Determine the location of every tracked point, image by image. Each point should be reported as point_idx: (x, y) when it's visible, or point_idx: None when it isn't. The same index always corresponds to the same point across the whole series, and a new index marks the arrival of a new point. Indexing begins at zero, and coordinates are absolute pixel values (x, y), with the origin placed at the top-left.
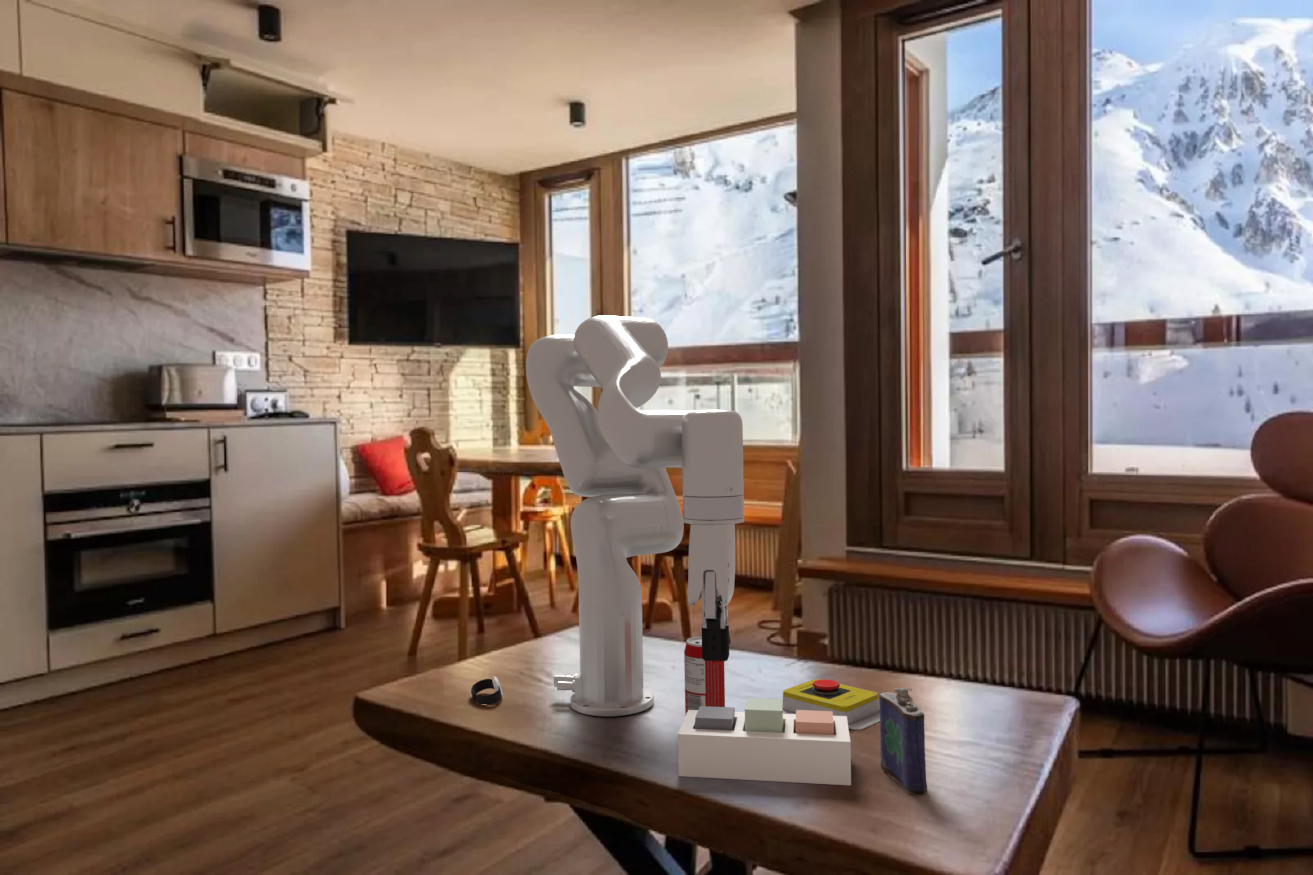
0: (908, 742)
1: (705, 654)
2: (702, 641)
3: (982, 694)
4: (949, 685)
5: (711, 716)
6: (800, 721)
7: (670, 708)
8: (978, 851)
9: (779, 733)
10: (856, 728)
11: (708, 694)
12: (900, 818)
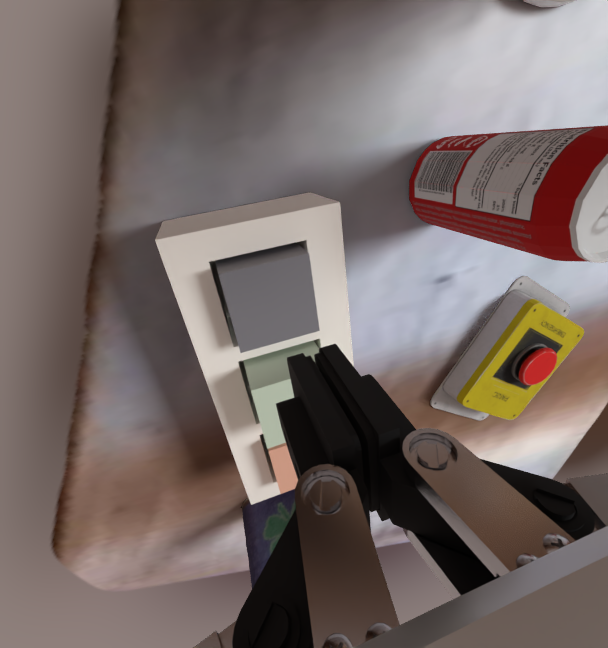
0: (252, 565)
1: (293, 377)
2: (309, 402)
3: (539, 467)
4: (570, 437)
5: (241, 307)
6: (272, 456)
7: (529, 66)
8: (126, 580)
9: (250, 418)
10: (432, 402)
11: (454, 212)
12: (169, 516)
